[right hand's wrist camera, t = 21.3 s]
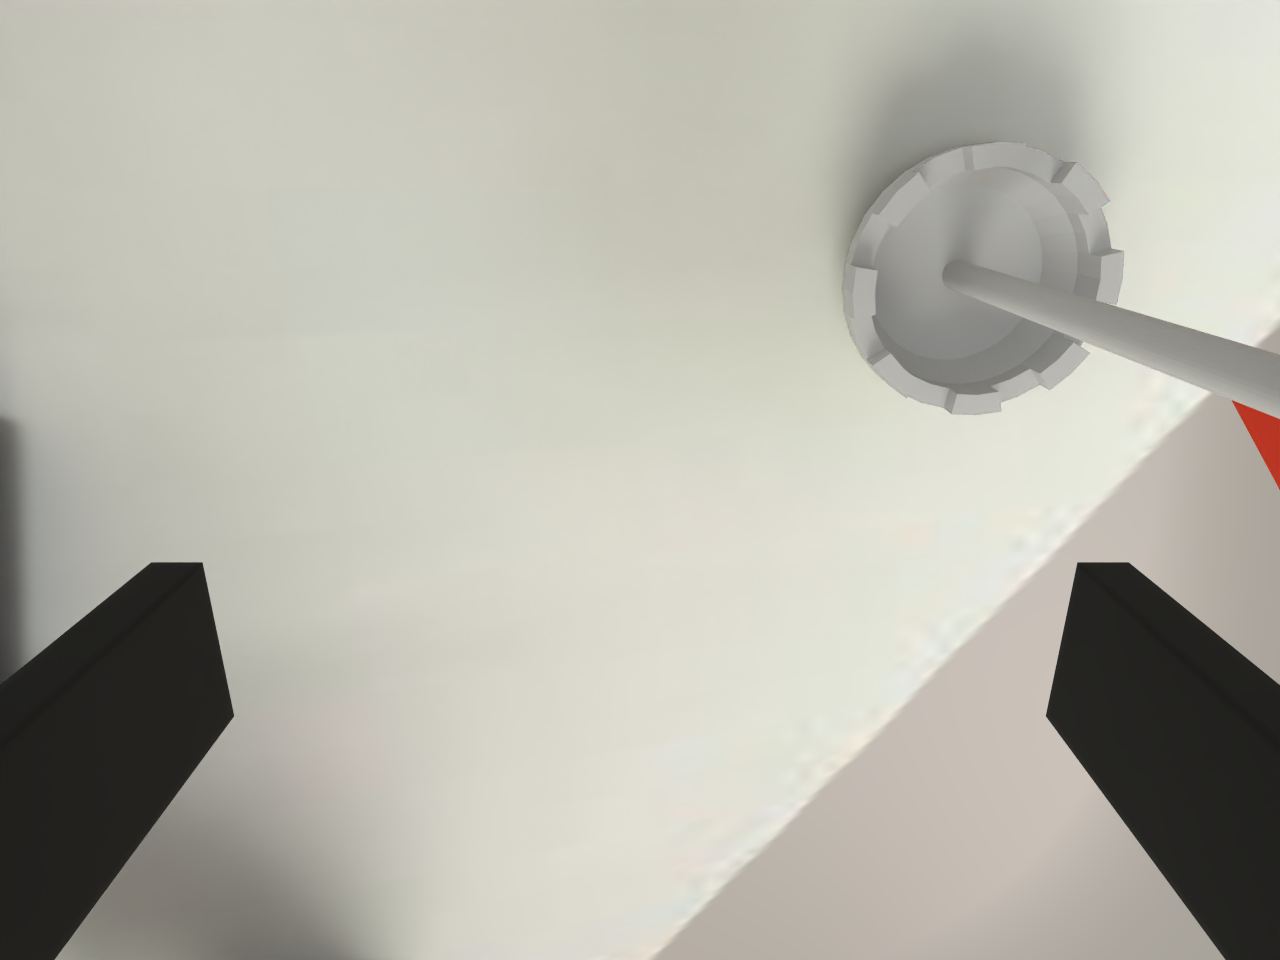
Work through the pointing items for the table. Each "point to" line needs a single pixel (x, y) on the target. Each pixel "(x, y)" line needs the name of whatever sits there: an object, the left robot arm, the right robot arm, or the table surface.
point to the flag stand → (1018, 291)
